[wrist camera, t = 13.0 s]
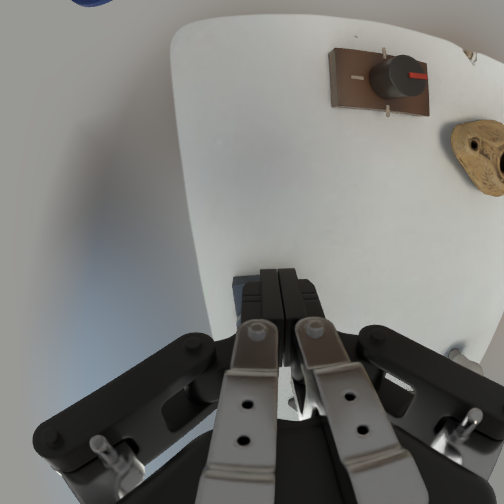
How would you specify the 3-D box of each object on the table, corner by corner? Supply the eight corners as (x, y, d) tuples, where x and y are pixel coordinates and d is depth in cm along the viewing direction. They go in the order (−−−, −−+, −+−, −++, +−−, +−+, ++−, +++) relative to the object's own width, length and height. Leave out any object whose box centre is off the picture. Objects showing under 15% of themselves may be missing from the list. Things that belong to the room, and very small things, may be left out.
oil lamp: (438, 107, 30) (474, 107, 22) (506, 127, 29) (540, 133, 22) (434, 185, 34) (468, 200, 27) (500, 193, 34) (532, 208, 26)
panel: (331, 113, 31) (338, 112, 28) (327, 47, 28) (334, 40, 25) (418, 122, 31) (430, 122, 28) (414, 60, 27) (426, 57, 24)
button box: (233, 277, 40) (231, 292, 36) (285, 273, 40) (288, 288, 36) (242, 343, 45) (241, 361, 41) (287, 340, 44) (289, 358, 41)
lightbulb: (451, 337, 45) (477, 375, 35) (468, 341, 46) (493, 376, 36) (434, 361, 48) (456, 400, 37) (452, 363, 48) (473, 399, 38)
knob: (372, 99, 28) (393, 95, 22) (366, 63, 26) (386, 52, 20) (405, 100, 27) (430, 97, 22) (399, 64, 25) (424, 56, 20)
